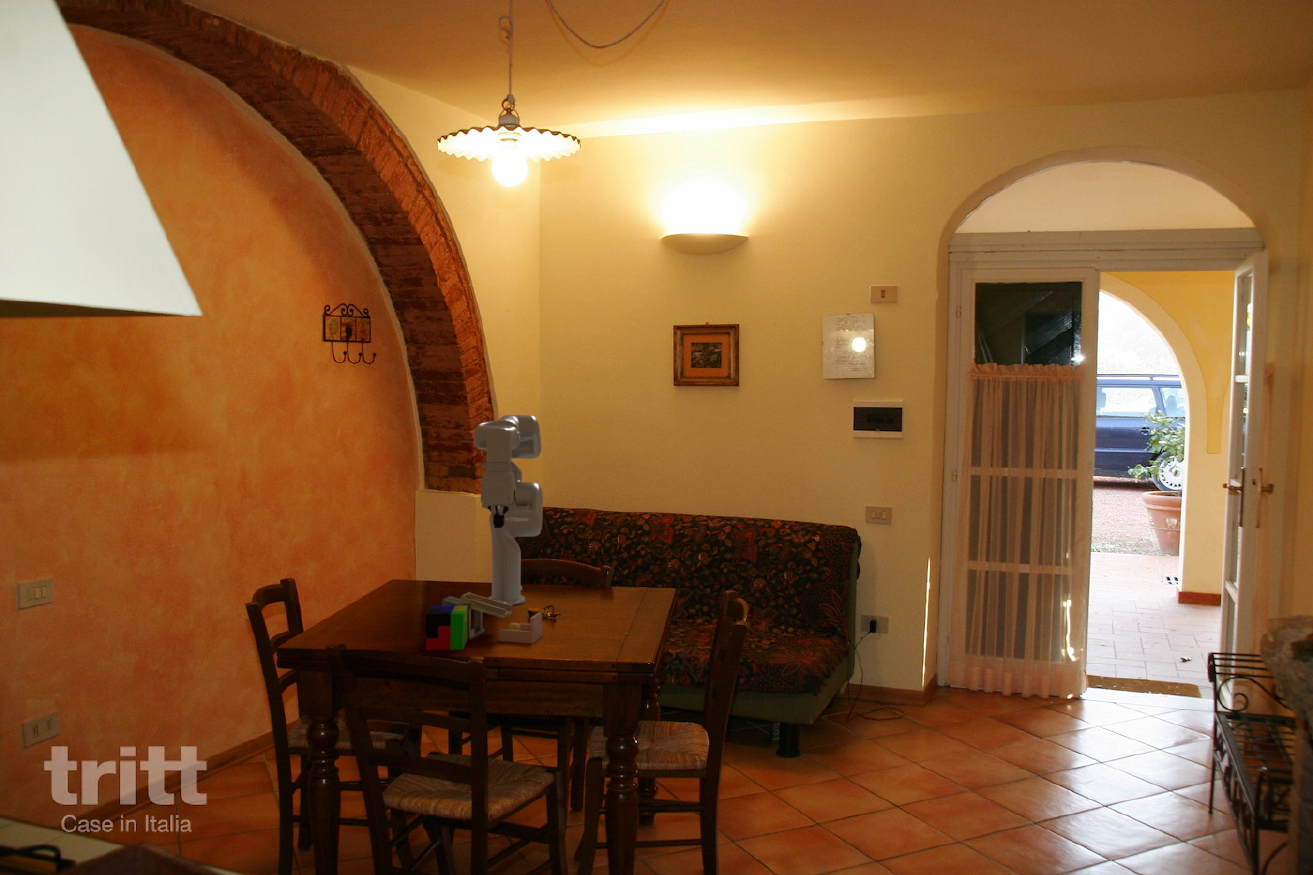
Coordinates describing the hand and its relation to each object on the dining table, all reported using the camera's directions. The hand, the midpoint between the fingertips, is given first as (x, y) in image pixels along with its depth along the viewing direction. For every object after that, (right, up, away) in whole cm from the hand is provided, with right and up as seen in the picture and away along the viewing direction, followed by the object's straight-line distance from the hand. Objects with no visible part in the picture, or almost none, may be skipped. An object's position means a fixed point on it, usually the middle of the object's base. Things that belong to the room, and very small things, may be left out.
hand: (498, 527), depth 288 cm
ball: (+7, -28, -18) cm, 34 cm away
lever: (-4, -25, -12) cm, 28 cm away
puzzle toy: (-10, -31, -26) cm, 41 cm away
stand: (-5, -30, -15) cm, 34 cm away
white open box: (+9, -30, -18) cm, 36 cm away
